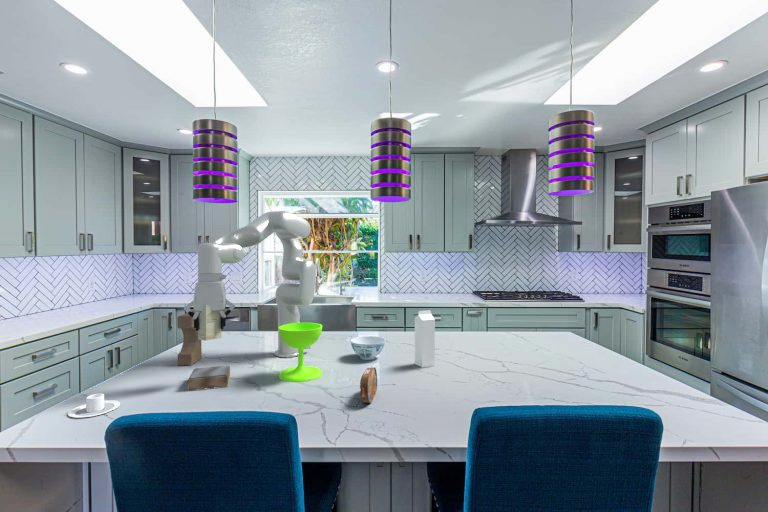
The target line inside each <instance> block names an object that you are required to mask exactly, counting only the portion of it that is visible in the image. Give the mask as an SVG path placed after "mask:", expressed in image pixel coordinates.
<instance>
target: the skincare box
mask: <svg viewBox="0 0 768 512" xmlns="http://www.w3.org/2000/svg"><path fill="white" fill-rule="evenodd" d="M221 317H222V315H221V314H220V312H219V311H212V308H211V305H203V309H202V311H201V312H200V313H199V334H198V336H199V337H198V339H200V340H201V341H210V340H217V339H220V338H222V329H221Z"/></svg>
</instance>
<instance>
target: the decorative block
mask: <svg viewBox="0 0 768 512" xmlns="http://www.w3.org/2000/svg"><path fill="white" fill-rule="evenodd" d="M193 312H194V313H195V312H196V311H193ZM198 318H199V315H198ZM176 322H177V323H176V324H177V329H180V330H181V331H182V336H183V338H182V340H183V342H182V347H181V349H180V351H179V352H178V354H177V366H178V367H182V366H183V367H185V365H191V366H192V364H193V365H194V364H195V363H197V362H198V361H199V360H201V359H202V340H200V339H198V337H199V336H198V334H199V330H198V331H196V328H194V319H193V318H192V317H191V316H190V315H189V314H188V313H187V312H186V313H184V314H181V315H177V321H176ZM196 361H197V362H196Z"/></svg>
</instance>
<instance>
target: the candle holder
mask: <svg viewBox="0 0 768 512" xmlns="http://www.w3.org/2000/svg"><path fill="white" fill-rule="evenodd" d="M105 405H112V408H110V409H108V410H105V411H103V412H100V411H102V410H103V409H104V408H105ZM120 406H121V402H120V401H118V400H114V399H113V400H112V399H111V400H107V399H106V400H105V394H104V393H93V394H90V395H88V396H86V398H85V403H83V404H82V405H79V406H77V407H74V408H72V409H71V410H69V411H68V413H67V415H68V417H69V418H70V417H71V418H76V419H77V418H78V419H81V418H90V417H96V416H99V415H103V414H106V413H110V412H112V411H113V410H116V409H117V408H119V407H120ZM82 409H85V410H86V413H96V412H99V413H96V414H90V415H89V414H88V415H77V412H79V411H80V410H82Z"/></svg>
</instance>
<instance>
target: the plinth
mask: <svg viewBox="0 0 768 512" xmlns="http://www.w3.org/2000/svg"><path fill="white" fill-rule="evenodd" d="M229 377H230V378H231V365H219V366H209V367H208V366H207V367H195V368H194V369H193V370H192V372H191V374H190V376H189V377H188V379H187V391H188V390H191V391H197V390H196V389H201V390H206V389H205V388H210V389H215V388H214V387H220V388H227V387H229V386H228V385H229V383H230V382H229V381H230V378H229ZM226 386H227V387H226Z"/></svg>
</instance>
